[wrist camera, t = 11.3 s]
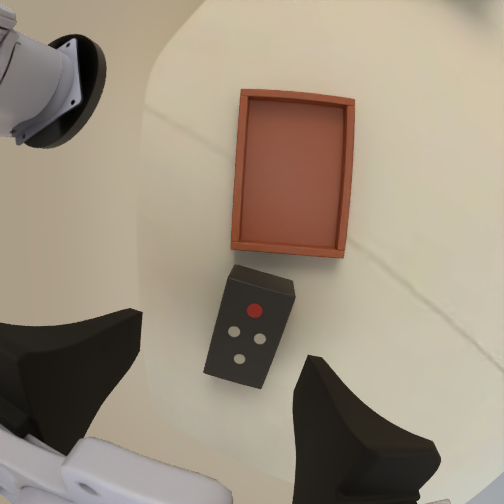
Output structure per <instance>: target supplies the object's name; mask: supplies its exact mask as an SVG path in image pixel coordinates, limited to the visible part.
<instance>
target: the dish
mask: <svg viewBox="0 0 504 504" xmlns="http://www.w3.org/2000/svg"><path fill="white" fill-rule="evenodd" d="M240 96H241V97H240V106H239V119H238V133H237V148H236V163H235V178H234V195H233V212H232V230H231V250H243V251H256V252H268V253H281V254H293V255H306V256H318V257H331V258H344V253H345V251H344V250H345V245H346V236H347V227H348V218H349V207H350V196H351V183H352V168H353V150H354V123H355V107H354V106H355V99H351V98H344V97H337V96H330V95H322V94H314V93H304V92H293V91H280V90H262V89H241V93H240Z"/></svg>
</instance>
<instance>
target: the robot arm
mask: <svg viewBox="0 0 504 504" xmlns="http://www.w3.org/2000/svg"><path fill="white" fill-rule="evenodd" d="M16 23H17V21H16V13H15V12H14V11H12V10H11V9H9V8H8V7H6V6H4V5H3V4H1V3H0V136H3V137H14V138H15V140H16V145H22V144H23V143H24V142H26V141H27V140H28V139H30V138H31V137H32V136H34V135H35V134H37V133H38V132H39V131H41V130H42V129H44V128H45V127H47V126H48V125H49V124H51V123H52V122H54V121H55V120H57V119H58V118H60V117H62V116H63V115H65V114H66V113H68V112H70V111H71V110H73V109H74V108H76V107H78V106H79V105H81V104H82V102H83V91H82V83H81V74H80V63H79V50H78V40H77V39H75V38H73V39H72V40H70V41H69V42H67V43H66V44H64V45H63V46H61V47H60V48H58V49H57V50H55V49H53V48H51V47H49V46H47V45H45V44H43V43H41V42H39V41H37V40H35V39H33V38H30V37H28V36H26V35H24V34H22V33H20V32H17V31H15V30H13V27H14V26H15V25H16ZM69 45H70V46H69ZM74 101H75V103H74ZM73 103H74V105H73ZM142 314H143V312H140V311H137V310H134V309H131V308H129V309H124V310H120V311H117V312H113V313H110V314H107V315H104V316H100V317H97V318H93V319H89V320H85V321H81V322H77V323H71V324H65V325H56V326H20V325H11V324H5V323H0V494H1V495H3V496H4V497H5V498H6V499H7V500H8V501H10V502H11V503H12V504H233V497H232V492H231V491H230V490H229V489H228V488H227V487H225V486H224V485H223V484H221V483H220V482H219V481H217V480H216V479H213V478H210V477H208V476H205V475H203V474H200V473H198V472H194V471H190V470H186V469H183V468H179V467H176V466H173V465H170V464H167V463H164V462H160V461H158V460H155V459H152V458H149V457H146V456H143V455H140V454H138V453H135V452H133V451H130V450H128V449H125V448H123V447H120V446H118V445H115V444H113V443H111V442H108V441H105V440H102V439H98V438H95V437H87V438H84V436H85V434H86V432H87V430H88V428H89V426H90V424H91V423H92V420H93V419H94V417H95V415H96V413H97V412H98V410H99V408H100V406H101V405H102V404H103V402H104V401H105V399H106V398H107V396H108V395H109V394H110V393H111V391H112V390H113V389H114V387H115V386H116V385H117V384H118V383H119V381H120V380H121V379H122V378H123V376H124V375H125V374H126V372H127V371H128V370H129V369H130V367H131V365H132V364H133V362H134V361H135V359H136V357H137V355H138V353H139V351H140V340H141V326H142ZM293 422H294V434H295V445H296V470H295V484H294V495H293V502H292V504H417V502H416V501H418V500H419V499H420V494H419V491H418V490H419V489H420V488H421V487H422V486H423V485H424V484H425V483H426V482H427V481H428V480H429V479H430V478H431V477H432V476H433V475H434V473H435V472H436V471H437V469H438V468H439V465H440V463H441V457H440V455H439V453H438V451H437V449H436V446H435V444H434V442H433V441H431V440H428V439H425V438H423V437H420V436H417V435H415V434H412V433H410V432H408V431H406V430H404V429H402V428H400V427H398V426H396V425H394V424H393V423H391V422H389V421H388V420H386V419H385V418H383V417H381V416H380V415H379V414H377V413H376V412H374V411H373V410H372V409H371V408H369V407H368V406H367V405H366V404H364V403H363V402H362V401H361V400H360V399H359V398H358V397H357V396H356V395H355V394H354V393H353V392H352V391H351V390H350V389H349V388H348V387H347V386H346V385H345V384H344V383H343V382H342V380H341V379H340V378H339V377H338V376H337V375H336V373H335V372H334V371H333V370H332V369H331V367H330V366H329V365H328V364H327V363H326V361H325V360H324V359H323V358H322V357H317V356H312V355H308V356H307V359H306V361H305V364H304V366H303V369H302V372H301V374H300V377H299V379H298V382H297V384H296V387H295V389H294V393H293ZM427 504H451V502H450V500H449V499H445V500H440V501H436V502H431V503H427Z"/></svg>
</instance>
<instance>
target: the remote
mask: <svg viewBox="0 0 504 504" xmlns="http://www.w3.org/2000/svg"><path fill="white" fill-rule="evenodd" d="M295 298H296V297H295V290H294V284H293V281H292V280H288V279H285V278H281V277H278V276H274V275H271V274H267V273H264V272H260V271H257V270H253V269H250V268H246V267H243V266H240V265H236V264H235V265H234V267H233V269H232V271H231V273H230V275H229V276H228V279H227V282H226V286H225V290H224V294H223V297H222V301H221V305H220V309H219V313H218V316H217V320H216V324H215V328H214V332H213V336H212V340H211V344H210V347H209V351H208V355H207V359H206V363H205V367H204V371H203V373H205V374H208V375H211V376H215V377H218V378H221V379H225V380H228V381H232V382H236V383H239V384H243V385H247V386H251V387H254V388H258V389H261V388H262V386H263V384H264V381H265V379H266V376H267V373H268V371H269V368H270V366H271V363H272V361H273V358H274V355H275V353H276V350H277V347H278V345H279V342H280V339H281V337H282V334H283V331H284V328H285V326H286V323H287V320H288V317H289V315H290V312H291V309H292V306H293V303H294V300H295Z"/></svg>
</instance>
